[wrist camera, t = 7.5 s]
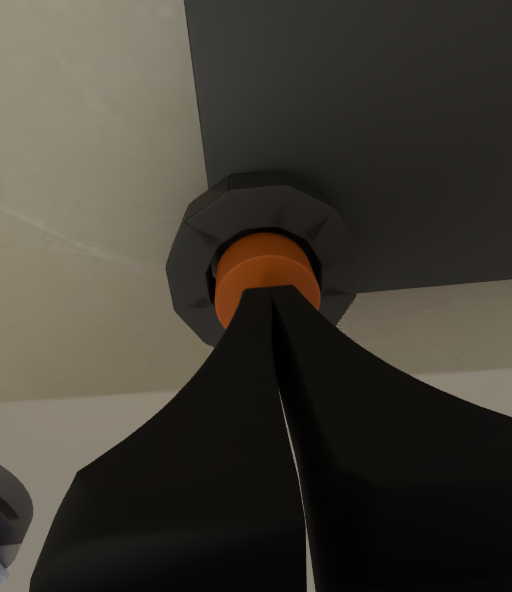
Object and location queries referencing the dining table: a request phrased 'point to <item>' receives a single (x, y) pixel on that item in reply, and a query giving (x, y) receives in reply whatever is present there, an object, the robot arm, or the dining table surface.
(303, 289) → the button
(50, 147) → the dining table surface
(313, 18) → the button block
